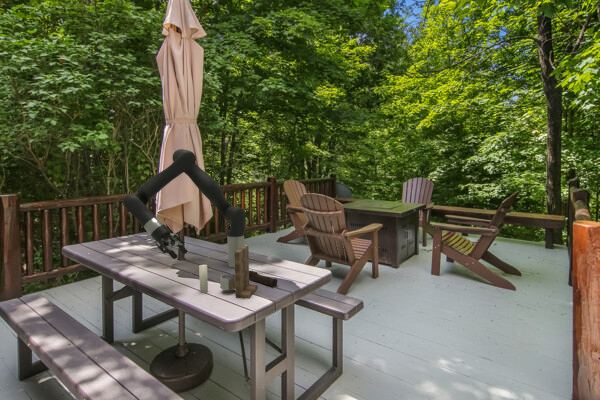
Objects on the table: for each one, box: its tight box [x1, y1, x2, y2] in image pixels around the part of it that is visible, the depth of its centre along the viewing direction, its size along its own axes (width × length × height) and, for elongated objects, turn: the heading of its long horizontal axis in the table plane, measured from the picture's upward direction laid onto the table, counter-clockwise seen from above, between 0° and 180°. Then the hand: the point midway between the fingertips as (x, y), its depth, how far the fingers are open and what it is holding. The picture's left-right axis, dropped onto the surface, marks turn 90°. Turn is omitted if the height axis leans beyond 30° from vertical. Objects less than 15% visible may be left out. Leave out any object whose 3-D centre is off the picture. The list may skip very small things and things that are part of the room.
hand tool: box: [249, 270, 278, 289], centre depth 165 cm, size 19×4×5 cm, turn 48°
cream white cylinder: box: [198, 264, 209, 294], centre depth 152 cm, size 4×4×12 cm
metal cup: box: [219, 273, 235, 291], centre depth 152 cm, size 7×9×5 cm
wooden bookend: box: [234, 245, 259, 299], centre depth 150 cm, size 12×6×20 cm, turn 169°
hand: (181, 255), depth 153 cm, fingers open, 8 cm apart
